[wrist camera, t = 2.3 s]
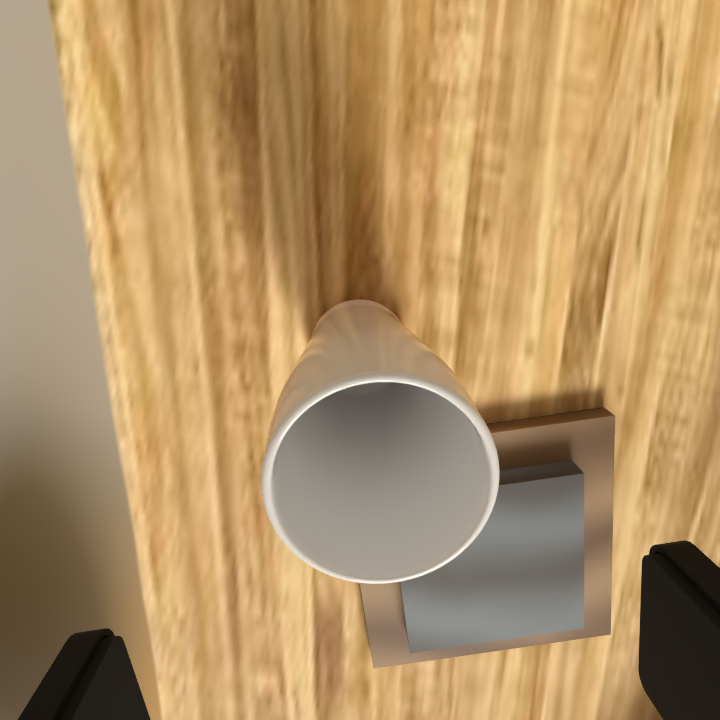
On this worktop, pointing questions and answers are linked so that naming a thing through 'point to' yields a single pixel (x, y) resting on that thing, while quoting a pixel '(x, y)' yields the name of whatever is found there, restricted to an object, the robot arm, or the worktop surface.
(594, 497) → the base
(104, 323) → the worktop surface
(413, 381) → the drinking glass
